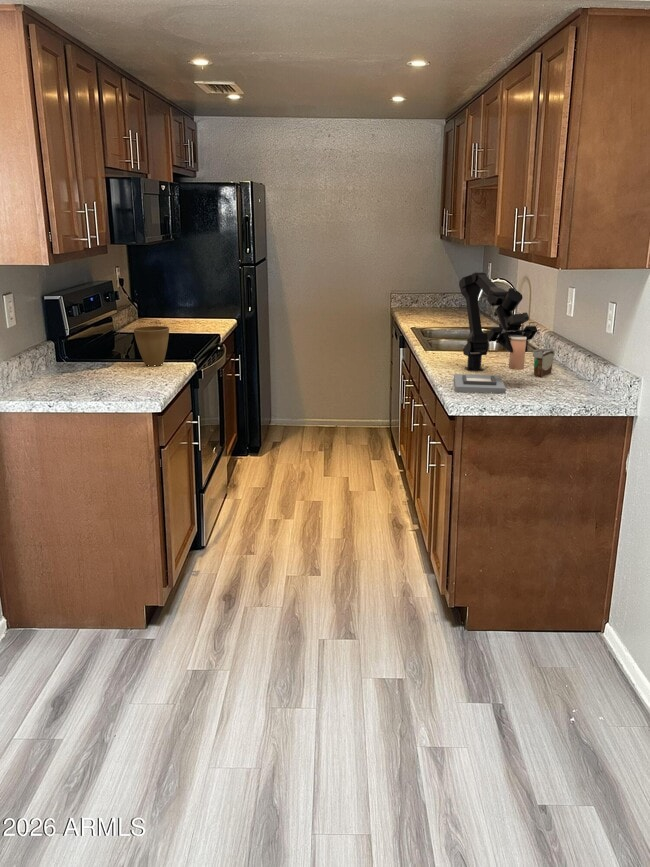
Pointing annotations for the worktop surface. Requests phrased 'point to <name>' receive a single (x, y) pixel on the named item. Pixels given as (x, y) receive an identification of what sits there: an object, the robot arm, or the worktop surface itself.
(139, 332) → the plant pot
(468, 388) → the dock
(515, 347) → the terracotta canister
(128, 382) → the worktop surface
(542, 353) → the food container
